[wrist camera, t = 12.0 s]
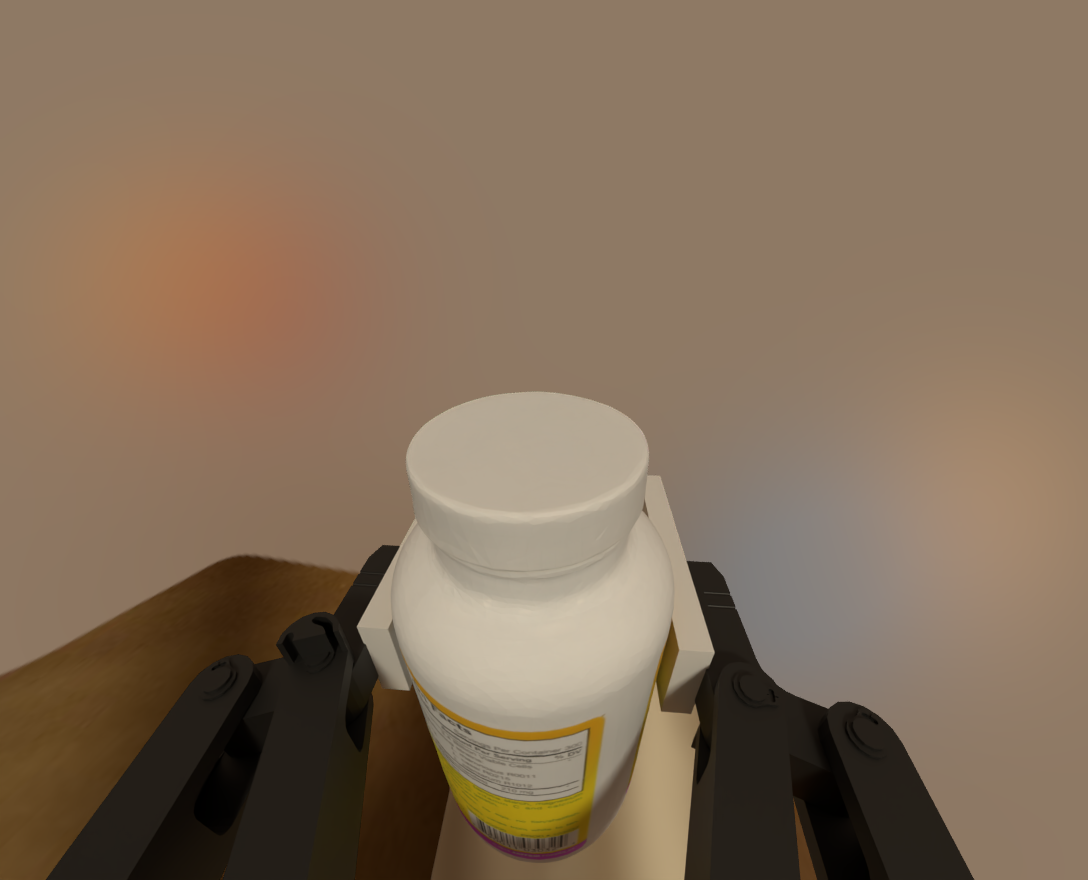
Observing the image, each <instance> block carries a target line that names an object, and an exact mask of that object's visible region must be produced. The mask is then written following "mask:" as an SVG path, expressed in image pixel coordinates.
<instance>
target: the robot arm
mask: <svg viewBox="0 0 1088 880" xmlns="http://www.w3.org/2000/svg"><path fill="white" fill-rule="evenodd" d="M642 511H643V512H644V513H645V514H646V515H647V517H648V518H649V519H650V520H651V522H652V523H653V525H654V526H655V528H656V529H657V531H658V533H659V534H660V536H661V538H662V540H663V543H664V545H665V547H666V549H667V552H668V555H669V558H670V562H671V566H672V571H673V576H674V589H675V593H674V609H673V614H672V620H671V625H670V630H669V634H668V638H667V642H666V645H665V649H664V652H663V656H662V660H661V663H660V667H659V671H658V675H657V679H656V684H657V691H658V697H659V703H660V709H661V712H673V713H684V714H691V713H692V710H693V708H694V705H696V709H697V713H698V717H699V721H700V724H699V726H698V729H697V731H696V734H695V736H694V738H693V742H692V745H691V747H692V748H694V749H695V759H694V770H693V782H692V794H691V806H690V817H689V829H688V841H687V852H686V864H685V876H684V880H800V870H799V859H798V848H797V837H796V825H795V814H794V803H793V798H794V801H795V805H796V808H797V811H798V815H799V818H800V822H801V825H802V829H803V832H804V836H805V839H806V842H807V846H808V849H809V853H810V856H811V860H812V863H813V867H814V870H815V873H816V877H817V880H974V878H973V877H972V875H971V873H970V871H969V869H968V867H967V865H966V863H965V861H964V859H963V858H962V856H961V854H960V852H959V850H958V848H957V846H956V844H955V842H954V840H953V839H952V837H951V835H950V833H949V831H948V829H947V827H946V825H945V823H944V821H943V820H942V818H941V816H940V814H939V812H938V810H937V808H936V806H935V804H934V802H933V800H932V799H931V797H930V795H929V793H928V791H927V789H926V787H925V786H924V783H923V781H922V780H921V778H920V776H919V774H918V772H917V770H916V768H915V767H914V764H913V762H912V761H911V759H910V757H909V755H908V753H907V751H906V749H905V747H904V745H903V744H902V742H901V741H900V740H899V738H898V736H897V735H896V733H895V732H894V731H893V729H892V728H891V727H890V726H889V725H888V724H887V723H886V722H885V721H883V719H881V718H880V717H879V716H878V715H877V714H875V713H873V712H872V711H870V710H869V709H867V708H865V707H864V706H861V705H858V704H855V703H852V702H837V703H836V704H834V705H833V706H831V707H830V708H829V709H827V708H825V707H822V706H820V705H817V704H815V703H812V702H809V701H807V700H804V699H802V698H799V697H797V696H795V695H793V694H790V693H788V692H786V691H785V690H783V689H782V688H780V687H779V686H778V685H776V683H775V682H774V680H772V678H770V677H769V676H768V675H767V674H766V673H765V672H764V671H763V670H762V669H761V667H760V665H759V663H758V661H757V659H756V657H755V655H754V652H753V649H752V647H751V644H750V642H749V639H748V637H747V634H746V632H745V629H744V627H743V625H742V622H741V619H740V617H739V614H738V612H737V610H736V609H735V604H734V602H733V599H732V597H731V596H730V592H729V589H728V587H727V584H726V582H725V579H724V577H723V575H722V574H721V573H720V572H719V571H718V570H717V569H716V568H715V567H714V565H713V564H712V563H711V562H694V561H686V558H685V555H684V552H683V549H682V545H681V542H680V539H679V535H678V532H677V529H676V526H675V522H674V519H673V516H672V513H671V510H670V506H669V503H668V500H667V497H666V494H665V490H664V487H663V484H662V480H661V477H660V476H647V482H646V491H645V499H644V505H643V509H642ZM417 523H418V522H417V520H416V518H415V520H414V521H413V523H412V525H411V527H410V529H409V531H408V533H407V534H406V537H405V538H404V540H403V542H402V544H401V546H388V545H382V546H381V547H380V548H379V549H378V550H377V551H375V552H374V554H372V555H371V556H370V557H369V558H368V560H367V561H366V563H365V565H364V566H363V568H362V570H361V571H360V574H358V576H357V578H356V579H355V581H354V583H353V586H351V587H350V589H349V591H348V592H347V594H346V596H345V597H344V599H343V600H342V602H341V604H340V605H339V607H338V609H337V610H336V612H335V614H334V615H332V614H330V613H327V612H318V613H313V614H310V615H307V616H304V617H302V618H300V619H299V620H297V621H296V622H294V623H293V624H291V625H290V626H289V627H288V628H287V629H286V630H285V631H284V632H283V633H282V635H281V636H280V638H279V640H278V642H277V644H276V646H277V647H278V649H279V650H280V652H281V654H282V655H283V658H279V659H275V660H271V661H267V662H263V663H259V664H254V663H253V662H252V661H251V660H250V658H249V657H248V656H244V655H239V654H238V655H233V656H227V657H225V658H223V659H221V660H218V661H216V662H214V663H212V664H211V665H210V666H208V667H207V668H206V669H204V670H203V671H202V672H200V673H199V675H198V676H197V677H196V678H195V679H194V680H193V681H192V682H191V683H190V684H189V686H188V687H187V689H186V690H185V691H184V693H183V694H182V695H181V697H180V698H179V699H178V701H177V702H176V703H175V705H174V706H173V708H172V709H171V710H170V712H169V713H168V714H167V716H166V717H165V718H164V720H163V721H162V722H161V724H160V725H159V727H158V728H157V729H156V731H155V732H154V733H153V735H152V736H151V737H150V739H149V740H148V742H147V743H146V744H145V746H144V747H143V748H142V750H141V751H140V752H139V754H138V755H137V756H136V758H135V759H134V761H133V762H132V763H131V765H130V766H129V767H128V769H127V770H126V771H125V773H124V774H123V775H122V777H121V778H120V780H119V781H118V782H117V784H116V785H115V786H114V788H113V789H112V790H111V792H110V793H109V795H108V796H107V797H106V799H105V800H104V801H103V803H102V804H101V805H100V807H99V808H98V809H97V811H96V812H95V814H94V815H93V816H92V818H91V819H90V820H89V822H88V823H87V824H86V826H85V827H84V828H83V830H82V831H81V833H80V834H79V835H78V837H77V838H76V839H75V841H74V842H73V843H72V845H71V846H70V847H69V849H68V850H67V852H66V853H65V854H64V856H63V857H62V858H61V860H60V861H59V862H58V864H57V865H56V867H55V868H54V869H53V871H52V872H51V873H50V875H49V876H48V877H47V879H46V880H220V878H221V876H222V874H223V872H224V870H225V868H226V871H225V874H224V877H223V880H355V871H356V862H357V853H358V843H359V834H360V825H361V816H362V806H363V797H364V788H365V779H366V770H367V760H368V751H369V742H370V733H371V723H372V714H373V696H372V694H371V692H372V690H373V688H374V686H375V683H376V681H377V679H379V681H380V683H381V686H382V688H385V689H397V690H409V691H410V688H411V686H412V683H413V682H412V680H411V677H410V675H409V672H408V669H407V666H406V663H405V661H404V658H403V655H402V653H401V650H400V647H399V643H398V639H397V636H396V632H395V628H394V624H393V619H392V610H391V586H392V579H393V573H394V569H395V566H396V563H397V560H398V557H399V554H400V551H401V549H402V547H403V545H404V543H405V541H406V540H407V538H408V536H409V534H410V533H411V531H412V530H413V528H414V527H415V526H416V525H417ZM227 863H228V864H227ZM226 866H227V867H226Z"/></svg>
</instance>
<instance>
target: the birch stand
mask: <svg viewBox="0 0 1088 880" xmlns="http://www.w3.org/2000/svg"><path fill="white" fill-rule="evenodd" d="M699 724H700V721H699V717H698V713H697V709H696V705H694V708H693V710H692V713H691V714H684V713H673V712H661V709H660V703H659V697H658V691H657V684H656V683H655V687H654V691H653V695H652V698H651V703H650V707H649V711H648V714H647V719H646V723H645V726H644V731H643V735H642V739H641V743H640V747H639V751H638V756H637V760H636V764H635V767H634V771H633V775H632V778H631V782H630V785H629V788H628V791H627V794H626V796H625V799H624V802H623V804H622V806H621V808H620V810H619V811H618V813H617V815H616V817H615V818H614V820H613V821H612V823H611V824H610V826H609V827H608V828H607V830H606V831H605V832H604V833H603V834H602V835H601V836H600V837H599V838H598V839H597V840H596V841H595V842H594V843H593V844H591V845H590V846H588V847H587V848H585V849H584V850H582V851H581V852H579V853H577V854H575V855H573V856H571V857H569V858H566V859H563V860H559V861H555V862H549V863H531V862H523V861H519V860H515V859H513V858H510V857H507V856H505V855H503V854H501V853H499V852H498V851H496V850H495V849H493V848H491V847H490V846H489V845H488V844H486V843H485V842H484V841H483V840H482V839H481V838H480V837H479V836H478V835H477V834H476V833H475V832H474V831H473V830H472V828H471V827H470V826H469V824H468V823H467V821H466V820H465V818H464V817H463V815H462V813H461V812H460V810H459V808H458V806H457V804H456V801H455V799H454V797H453V794H452V792H451V790H450V791H449V796H448V800H447V805H446V810H445V814H444V819H443V824H442V829H441V833H440V838H439V843H438V847H437V852H436V857H435V862H434V866H433V871H432V876H431V880H684V876H685V864H686V852H687V841H688V829H689V817H690V806H691V794H692V782H693V770H694V759H695V749H694V748H692V747H691V745H692V742H693V738H694V736H695V734H696V731H697V729H698V726H699Z"/></svg>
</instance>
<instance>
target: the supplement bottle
mask: <svg viewBox="0 0 1088 880" xmlns="http://www.w3.org/2000/svg"><path fill="white" fill-rule="evenodd" d="M648 464H649V449H648V444H647V441H646V438H645V436H644V434H643V432H642V431H641V430H640V428H639V427H638V426H637V425H636V424H635V423H634V422H633V421H632V420H631V419H630V418H629V417H627V416H626V415H624V414H622V413H621V412H620V411H618V410H616V409H614V408H612V407H610V406H608V405H604V404H602V403H599V402H596V401H593V400H590V399H586V398H582V397H577V396H573V395H567V394H561V393H551V392H520V393H519V392H518V393H506V394H499V395H492V396H487V397H483V398H479V399H475V400H472V401H469V402H466V403H463V404H461V405H458V406H455V407H453V408H451V409H449V410H447V411H445V412H443V413H442V414H440V415H438V416H436V417H434V418H433V419H432V420H430V421H429V422H427V423H426V424H425V425H424V426H423V427H422V428H421V429H420V430H419V431H418V432H417V433H416V435H415V436H414V438H413V439H412V441H411V443H410V445H409V447H408V450H407V455H406V471H407V475H408V479H409V484H410V489H411V494H412V500H413V509H414V514H415V518H416V520H417V522H418V523H417V525H416V526H415V527H414V528H413V530H412V531H411V533H410V534H409V536H408V538H407V540H406V541H405V543H404V545H403V547H402V549H401V551H400V554H399V557H398V560H397V563H396V566H395V569H394V573H393V579H392V586H391V610H392V619H393V624H394V628H395V632H396V636H397V639H398V643H399V647H400V650H401V653H402V655H403V658H404V661H405V663H406V666H407V669H408V672H409V675H410V677H411V680H412V682H413V685H414V688H415V691H416V694H417V697H418V699H419V702H420V705H421V708H422V711H423V714H424V717H425V720H426V723H427V726H428V729H429V732H430V734H431V737H432V740H433V742H434V745H435V748H436V750H437V753H438V756H439V759H440V762H441V765H442V768H443V771H444V774H445V776H446V779H447V781H448V784H449V787H450V790H451V792H452V794H453V797H454V799H455V801H456V804H457V806H458V808H459V810H460V812H461V813H462V815H463V817H464V818H465V820H466V821H467V823H468V824H469V826H470V827H471V828H472V830H473V831H474V832H475V833H476V834H477V835H478V836H479V837H480V838H481V839H482V840H483V841H484V842H485V843H486V844H488V845H489V846H490V847H491V848H493V849H495V850H496V851H498V852H499V853H501V854H503V855H505V856H507V857H510V858H513V859H515V860H519V861H523V862H531V863H549V862H555V861H559V860H563V859H566V858H569V857H571V856H573V855H575V854H577V853H579V852H581V851H582V850H584V849H585V848H587V847H588V846H590V845H591V844H593V843H594V842H595V841H596V840H597V839H598V838H599V837H600V836H601V835H602V834H603V833H604V832H605V831H606V830H607V828H608V827H609V826H610V824H611V823H612V821H613V820H614V818H615V817H616V815H617V813H618V811H619V810H620V808H621V806H622V804H623V802H624V799H625V796H626V794H627V791H628V788H629V785H630V782H631V778H632V775H633V771H634V767H635V764H636V760H637V756H638V751H639V747H640V743H641V739H642V735H643V731H644V726H645V723H646V719H647V714H648V711H649V707H650V703H651V698H652V695H653V691H654V687H655V683H656V679H657V675H658V671H659V667H660V663H661V660H662V656H663V652H664V649H665V645H666V642H667V638H668V634H669V630H670V625H671V620H672V614H673V609H674V593H675V589H674V576H673V571H672V566H671V562H670V558H669V555H668V552H667V549H666V547H665V545H664V543H663V540H662V538H661V536H660V534H659V533H658V531H657V529H656V528H655V526H654V525H653V523H652V522H651V520H650V519H649V518H648V517H647V515H646V514H645V513H644V512H643V511H642V509H643V505H644V499H645V491H646V482H647V472H648Z"/></svg>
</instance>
